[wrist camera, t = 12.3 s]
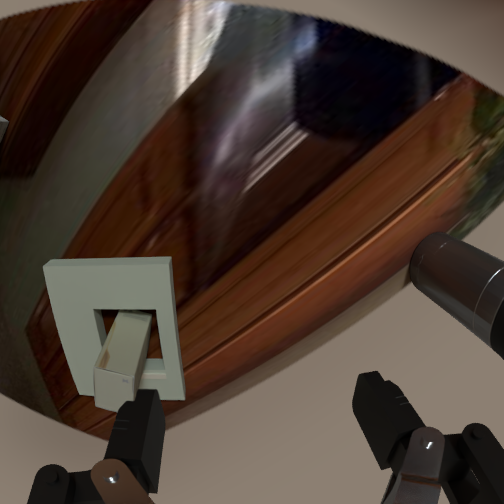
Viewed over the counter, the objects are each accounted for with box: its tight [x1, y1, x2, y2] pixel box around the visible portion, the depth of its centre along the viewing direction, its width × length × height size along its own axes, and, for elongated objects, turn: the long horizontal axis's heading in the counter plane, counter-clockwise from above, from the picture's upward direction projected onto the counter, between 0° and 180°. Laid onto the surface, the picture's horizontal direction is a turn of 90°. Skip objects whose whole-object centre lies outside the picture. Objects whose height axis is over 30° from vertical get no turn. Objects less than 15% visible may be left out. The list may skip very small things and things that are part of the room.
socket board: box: [43, 257, 186, 400], centre depth 37 cm, size 16×20×3 cm
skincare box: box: [93, 309, 152, 412], centre depth 33 cm, size 6×4×12 cm
